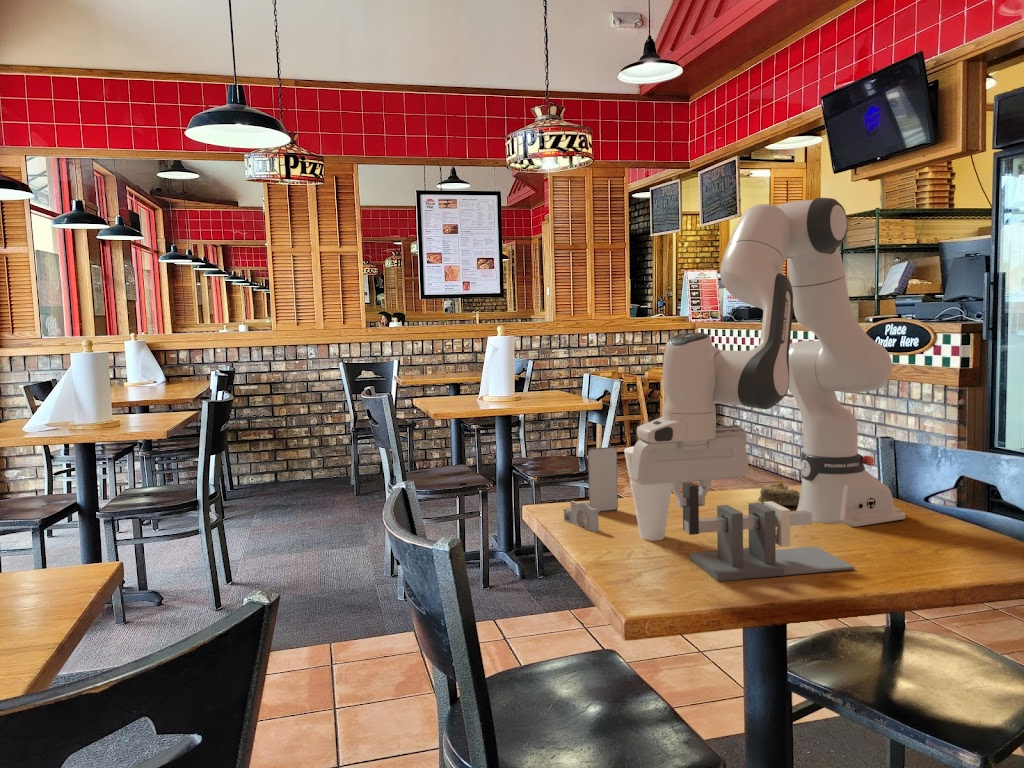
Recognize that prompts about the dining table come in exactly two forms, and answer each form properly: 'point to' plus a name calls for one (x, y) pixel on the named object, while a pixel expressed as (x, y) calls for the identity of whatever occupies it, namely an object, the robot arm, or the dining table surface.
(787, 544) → the block
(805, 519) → the shaft
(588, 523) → the grey toothed piece
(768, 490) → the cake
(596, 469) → the smartphone
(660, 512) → the cup
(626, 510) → the dining table surface
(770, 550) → the bearing stand
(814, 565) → the mat
